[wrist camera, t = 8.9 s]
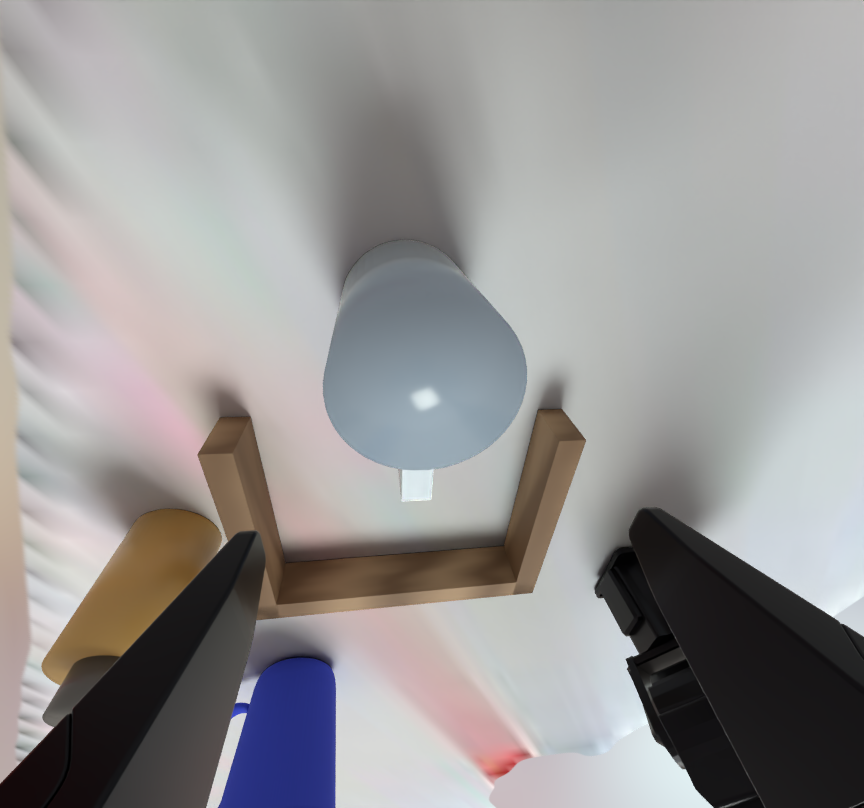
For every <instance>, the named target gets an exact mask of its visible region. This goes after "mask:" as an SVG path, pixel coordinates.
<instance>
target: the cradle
mask: <svg viewBox="0 0 864 808" xmlns="http://www.w3.org/2000/svg"><path fill="white" fill-rule="evenodd" d="M585 442H586V439H585V438H584V437H583V436H582V434H581V433H580V432H579V430H578V429H577V428H576V426H575V425H574V424H573V423H572V421H571V420H570V419H569V417H568V416H567V415H566V414H565V412H564V411H563V410H562V409H549V410H538V412H537V416H536V420H535V424H534V428H533V432H532V436H531V440H530V444H529V448H528V452H527V456H526V460H525V464H524V468H523V472H522V476H521V480H520V484H519V488H518V492H517V495H516V499H515V503H514V507H513V511H512V515H511V519H510V523H509V527H508V531H507V535H506V539H505V543H504V546H498V547H485V548H472V549H460V550H447V551H434V552H422V553H409V554H396V555H384V556H371V557H358V558H346V559H333V560H320V561H308V562H295V563H285V559H284V555H283V550H282V546H281V542H280V538H279V534H278V530H277V525H276V521H275V517H274V513H273V509H272V505H271V500H270V496H269V492H268V488H267V484H266V480H265V475H264V471H263V467H262V463H261V459H260V455H259V450H258V446H257V442H256V438H255V434H254V430H253V425H252V421H251V417H220V418H219V420H218V421H217V423H216V425H215V426H214V428H213V430H212V431H211V433H210V435H209V436H208V438H207V440H206V441H205V443H204V445H203V446H202V448H201V450H200V451H199V453H198V458H199V461H200V463H201V466H202V469H203V472H204V475H205V478H206V480H207V483H208V486H209V489H210V492H211V494H212V497H213V500H214V503H215V506H216V509H217V511H218V514H219V517H220V520H221V523H222V525H223V528H224V531H225V534H226V537H227V540H228V541H229V540H230V539H231V538H232V537H233V536H234V535H235V534H236V533H238V532H240V531H251V530H257V531H259V533H260V535H261V539H262V542H263V546H264V550H265V554H266V565H265V571H264V577H263V583H262V589H261V595H260V601H259V607H258V613H257V619H256V620H263V619H273V618H283V617H293V616H303V615H314V614H324V613H334V612H344V611H354V610H364V609H374V608H384V607H394V606H404V605H415V604H425V603H435V602H445V601H455V600H465V599H475V598H485V597H495V596H506V595H516V594H526V593H532V592H533V589H534V587H535V584H536V581H537V578H538V575H539V572H540V570H541V567H542V564H543V561H544V558H545V555H546V553H547V550H548V547H549V544H550V541H551V538H552V536H553V533H554V530H555V527H556V524H557V521H558V519H559V516H560V513H561V510H562V507H563V504H564V502H565V499H566V496H567V493H568V490H569V487H570V485H571V482H572V479H573V476H574V473H575V470H576V468H577V465H578V462H579V459H580V456H581V453H582V451H583V448H584V445H585Z"/></svg>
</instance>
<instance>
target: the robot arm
mask: <svg viewBox="0 0 864 808" xmlns="http://www.w3.org/2000/svg"><path fill="white" fill-rule="evenodd" d="M629 538H630V541H631V543H632V546H633V548H622V549H618V550H617V551H615V553H614V555H613V557H612V559H611V561H610V563H609V565H608V567H607V569H606V571H605V573H604V574H603V576H602V578H601V580H600V582H599V584H598V586H597V588H596V590H595V594H596V596H597V597H598V598H604V599H605V601H606V603H607V605H608V606H609V608H610V610H611V612H612V614H613V616H614V618H615V620H616V621H617V623H618V625H619V627H620V629H621V631H622V633H623V634H624V635H625V636H630V638H631V640H632V641H633V643H634V645H635V647H636V649H637V651H638V652H639V655H637V656H634V657H633V656H631V657H629V658H627V659H626V661H627V664H628V666H629V667H628V668H627V670H628V672H629V674H630V676H631V678H632V680H633V682H634V685H635V687H636V689H637V692H638V694H639V697H640V699H641V701H642V704H643V707H644V710H645V713H646V716H647V720H648V723H649V726H650V729H651V732H652V735H653V737H654V739H655V740H656V742H657V743H659V744H661V745H662V746H664V747H665V748H666V749H667V751H668V752H669V753H670V754H671V756H672V758H673V759H674V760H675V762H676V763H677V764H678V765H679V766H680V767H681V768H682V769H686V770H687V772H688V774H689V776H690V778H691V781H692V783H693V785H694V787H695V789H696V790H697V791H698V792H699V793H700V794H701V795H702V796H703V797H704V798H705V799H706V800H707V801H708V802H709V803H710V804H711V805H712V806H713V807H714V808H864V637H863V636H862V635H860V634H858V633H857V632H855V631H854V630H852V629H851V628H849V627H848V626H846V625H844V624H840V622H839V621H838V620H836V619H835V618H833V617H832V616H830V615H828V614H827V613H825V612H824V611H822V610H820V609H819V608H817V607H816V606H814V605H812V604H811V603H809V602H808V601H806V600H805V599H803V598H801V597H800V596H798V595H797V594H795V593H793V592H792V591H790V590H789V589H787V588H786V587H784V586H782V585H781V584H779V583H778V582H776V581H774V580H773V579H771V578H770V577H768V576H767V575H765V574H763V573H762V572H760V571H759V570H757V569H755V568H754V567H752V566H751V565H749V564H747V563H746V562H744V561H743V560H741V559H740V558H738V557H736V556H735V555H733V554H732V553H730V552H728V551H727V550H725V549H724V548H722V547H721V546H719V545H717V544H716V543H714V542H713V541H711V540H709V539H708V538H706V537H705V536H703V535H702V534H700V533H698V532H697V531H695V530H694V529H692V528H690V527H689V526H687V525H686V524H684V523H682V522H681V521H679V520H678V519H676V518H675V517H673V516H671V515H670V514H668V513H667V512H665V511H663V510H662V509H660V508H657V507H648V508H641V509H640V510H639V511H638V513H637V515H636V517H635V519H634V521H633V523H632V525H631V527H630V529H629ZM265 565H266V554H265V550H264V546H263V542H262V539H261V535H260V533H259V531H257V530H251V531H240V532H238V533H236V534H235V535H234V536H233V537H232V538H231V539H230V540H229V541H228V542H227V543H226V544H225V546H224V547H223V548H222V549H221V550H220V551H219V552H218V553H217V554H216V555H215V556H214V557H213V558H212V559H211V561H210V562H209V563H208V564H207V565H206V566H205V567H204V568H203V569H202V570H201V571H200V572H199V573H198V574H197V576H196V577H195V578H194V579H193V580H192V581H191V582H190V583H189V584H188V585H187V586H186V587H185V588H184V589H183V590H182V592H181V593H180V594H179V595H178V596H177V597H176V598H175V599H174V600H173V601H172V602H171V603H170V604H169V605H168V607H167V608H166V609H165V610H164V611H163V612H162V613H161V614H160V615H159V616H158V617H157V618H156V619H155V620H154V621H153V623H152V624H151V625H150V626H149V627H148V628H147V629H146V630H145V631H144V632H143V633H142V634H141V635H140V636H139V638H138V639H137V640H136V641H135V642H134V643H133V644H132V645H131V646H130V647H129V648H128V649H127V650H126V651H125V652H124V654H123V655H122V656H121V657H120V658H119V659H118V660H117V661H116V662H115V663H114V664H113V665H112V666H111V667H110V669H109V670H108V671H107V672H106V673H105V674H104V675H103V676H102V677H101V678H100V679H99V680H98V681H97V682H96V683H95V685H94V686H93V687H92V688H91V689H90V690H89V691H88V692H87V693H86V694H85V695H84V696H83V697H82V698H81V700H80V701H79V702H78V703H77V704H76V705H75V706H74V707H73V708H72V711H71V713H69V714H66V715H65V716H64V717H63V719H62V720H61V721H60V722H59V723H58V724H57V725H56V726H55V727H54V728H53V729H52V730H51V731H50V732H49V733H48V735H47V736H46V737H45V738H44V739H43V740H42V741H41V742H40V743H39V744H38V745H37V746H36V747H35V748H34V749H33V750H32V751H31V752H30V753H29V754H28V755H27V757H26V758H25V759H24V760H23V761H22V762H21V763H20V764H19V765H18V766H17V767H16V768H15V769H14V770H13V771H12V772H11V773H10V774H9V775H8V776H7V777H6V778H5V779H4V780H3V782H1V784H0V808H206V806H207V802H208V799H209V795H210V792H211V788H212V784H213V781H214V777H215V774H216V770H217V767H218V763H219V759H220V756H221V752H222V749H223V745H224V741H225V738H226V734H227V731H228V727H229V724H230V720H231V716H232V713H233V709H234V706H235V702H236V699H237V695H238V691H239V688H240V684H241V681H242V677H243V673H244V670H245V666H246V663H247V659H248V656H249V652H250V648H251V644H252V640H253V635H254V630H255V625H256V619H257V613H258V607H259V601H260V595H261V589H262V583H263V577H264V571H265Z"/></svg>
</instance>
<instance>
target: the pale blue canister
mask: <svg viewBox="0 0 864 808" xmlns="http://www.w3.org/2000/svg"><path fill="white" fill-rule="evenodd" d="M526 383H527V366H526V359H525V355H524V352H523V349H522V346H521V344H520V342H519V340H518V338H517V336H516V334H515V333H514V331H513V330H512V328H511V327H510V325H509V324H508V323H507V322H506V321H505V320H504V319H503V317H502V316H501V315H500V314H499V313H498V312H497V311H496V310H495V308H494V307H493V306H492V305H491V304H490V303H489V302H488V300H487V299H486V298H485V297H484V296H483V295H482V294H481V293H480V291H479V290H478V289H477V288H476V287H475V286H474V285H473V283H472V282H471V281H470V280H469V279H468V278H467V277H466V275H465V274H464V273H463V272H462V271H461V270H460V269H459V268H458V266H457V265H456V264H455V263H454V262H453V261H452V260H451V259H450V258H449V257H448V256H447V255H446V254H445V253H443V252H442V251H441V250H439V249H437V248H436V247H434V246H432V245H429V244H427V243H424V242H420V241H415V240H396V241H390V242H387V243H384V244H381V245H379V246H377V247H375V248H373V249H371V250H370V251H368V252H367V253H365V254H364V255H363V256H362V257H361V258H360V259H359V260H358V261H357V262H356V263H355V265H354V266H353V267H352V269H351V270H350V272H349V274H348V276H347V278H346V280H345V283H344V287H343V290H342V295H341V299H340V304H339V308H338V313H337V317H336V322H335V326H334V331H333V336H332V340H331V345H330V349H329V354H328V358H327V363H326V367H325V372H324V380H323V396H324V402H325V407H326V410H327V413H328V416H329V418H330V420H331V422H332V424H333V426H334V428H335V429H336V431H337V432H338V434H339V435H340V436H341V438H342V439H343V440H344V441H345V442H346V443H347V444H348V445H349V446H350V447H352V448H353V449H354V450H355V451H357V452H358V453H359V454H361V455H363V456H364V457H366V458H368V459H370V460H372V461H374V462H376V463H379V464H382V465H385V466H388V467H392V468H397V469H398V471H399V481H400V492H401V502H403V501H419V500H431V495H432V483H433V472H434V469H439V468H444V467H448V466H451V465H455V464H458V463H460V462H463V461H465V460H467V459H469V458H471V457H473V456H475V455H477V454H479V453H480V452H482V451H483V450H485V449H486V448H488V447H489V446H490V445H491V444H493V443H494V442H495V441H496V440H497V439H498V438H499V437H500V436H501V435H502V434H503V433H504V432H505V431H506V429H507V428H508V427H509V426H510V424H511V423H512V421H513V420H514V418H515V416H516V415H517V413H518V411H519V408H520V406H521V404H522V401H523V398H524V394H525V390H526Z"/></svg>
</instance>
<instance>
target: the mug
mask: <svg viewBox="0 0 864 808" xmlns="http://www.w3.org/2000/svg"><path fill="white" fill-rule="evenodd" d="M240 713H247V715H246V719H245V722H244V725H243V729H242V732H241V736H240V739H239V742H238V746H237V749H236V753H235V756H234V759H233V763H232V766H231V770H230V773H229V776H228V780H227V783H226V787H225V790H224V793H223V797H222V800H221V803H220V805H219V807H218V808H335V755H336V683H335V677H334V673H333V671H332V669H331V668H330V666H329V665H327V664H326V663H324V662H322V661H320V660H317V659H312V658H291V659H286V660H282V661H279V662H277V663H275V664H273V665H271V666H269V667H268V668H267V669H266V670H265V671H264V672H263V673H262V674H261V676H260V677H259V679H258V681H257V684H256V686H255V689H254V692H253V695H252V698H251V702H250V704H247V703H235V706H234V709H233V713H232V716H231V719H232V718H233V717H234V716H236V715H238V714H240Z"/></svg>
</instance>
